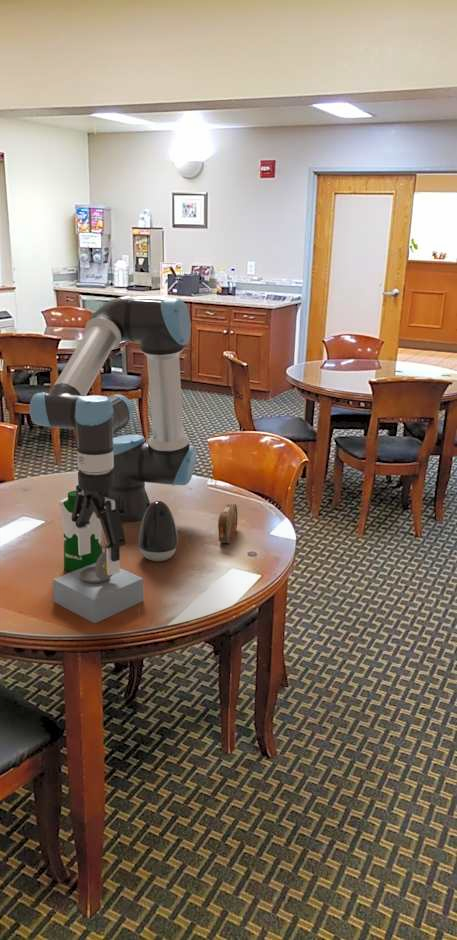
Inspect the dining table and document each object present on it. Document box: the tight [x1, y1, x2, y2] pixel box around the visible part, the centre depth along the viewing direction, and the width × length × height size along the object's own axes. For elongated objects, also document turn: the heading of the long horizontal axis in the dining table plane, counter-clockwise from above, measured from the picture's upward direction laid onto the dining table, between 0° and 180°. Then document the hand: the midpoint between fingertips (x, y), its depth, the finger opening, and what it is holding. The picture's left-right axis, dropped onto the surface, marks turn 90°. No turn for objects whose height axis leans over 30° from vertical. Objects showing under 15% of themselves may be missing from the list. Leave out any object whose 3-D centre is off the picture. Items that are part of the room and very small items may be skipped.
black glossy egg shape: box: [137, 500, 179, 562], centre depth 184 cm, size 10×10×15 cm
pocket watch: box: [80, 541, 113, 583], centre depth 159 cm, size 8×8×10 cm
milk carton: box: [58, 490, 104, 572], centre depth 176 cm, size 9×9×20 cm
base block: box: [52, 563, 144, 624], centre depth 162 cm, size 14×14×6 cm
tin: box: [217, 503, 238, 544], centre depth 199 cm, size 15×3×8 cm, turn 168°
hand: (98, 563), depth 160 cm, fingers open, 12 cm apart
